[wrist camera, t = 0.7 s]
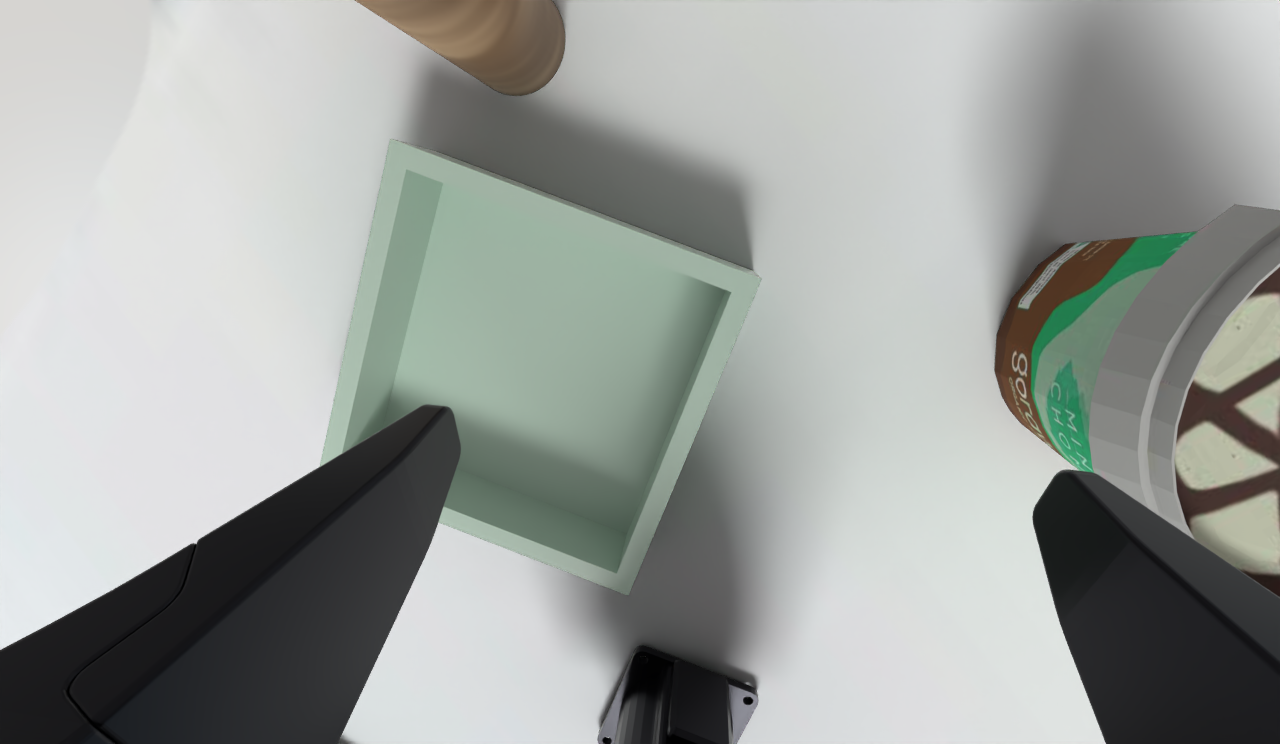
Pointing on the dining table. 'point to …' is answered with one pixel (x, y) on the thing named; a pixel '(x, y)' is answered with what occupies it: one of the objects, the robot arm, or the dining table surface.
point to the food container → (1163, 375)
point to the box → (537, 357)
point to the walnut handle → (486, 37)
